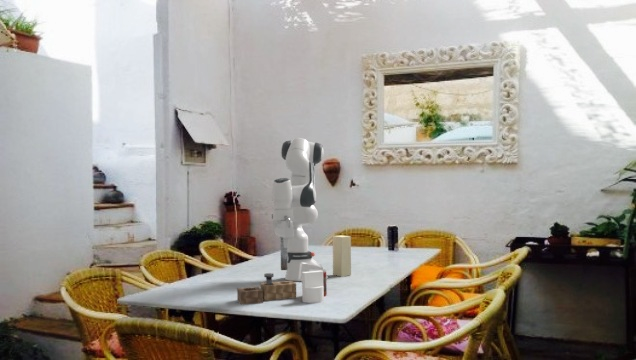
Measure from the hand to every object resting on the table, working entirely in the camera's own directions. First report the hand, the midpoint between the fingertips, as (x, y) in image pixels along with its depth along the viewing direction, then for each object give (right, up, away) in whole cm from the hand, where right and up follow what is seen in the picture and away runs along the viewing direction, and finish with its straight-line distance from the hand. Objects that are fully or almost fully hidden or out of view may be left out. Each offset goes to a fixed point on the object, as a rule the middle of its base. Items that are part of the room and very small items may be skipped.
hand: (284, 247), depth 229 cm
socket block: (-2, -22, -2) cm, 22 cm away
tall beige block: (+28, -22, +53) cm, 64 cm away
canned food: (+15, -21, +1) cm, 26 cm away
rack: (-14, -22, -9) cm, 27 cm away
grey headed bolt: (-6, -19, -3) cm, 21 cm away
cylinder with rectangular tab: (+13, -21, -9) cm, 26 cm away
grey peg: (0, -10, 0) cm, 10 cm away
